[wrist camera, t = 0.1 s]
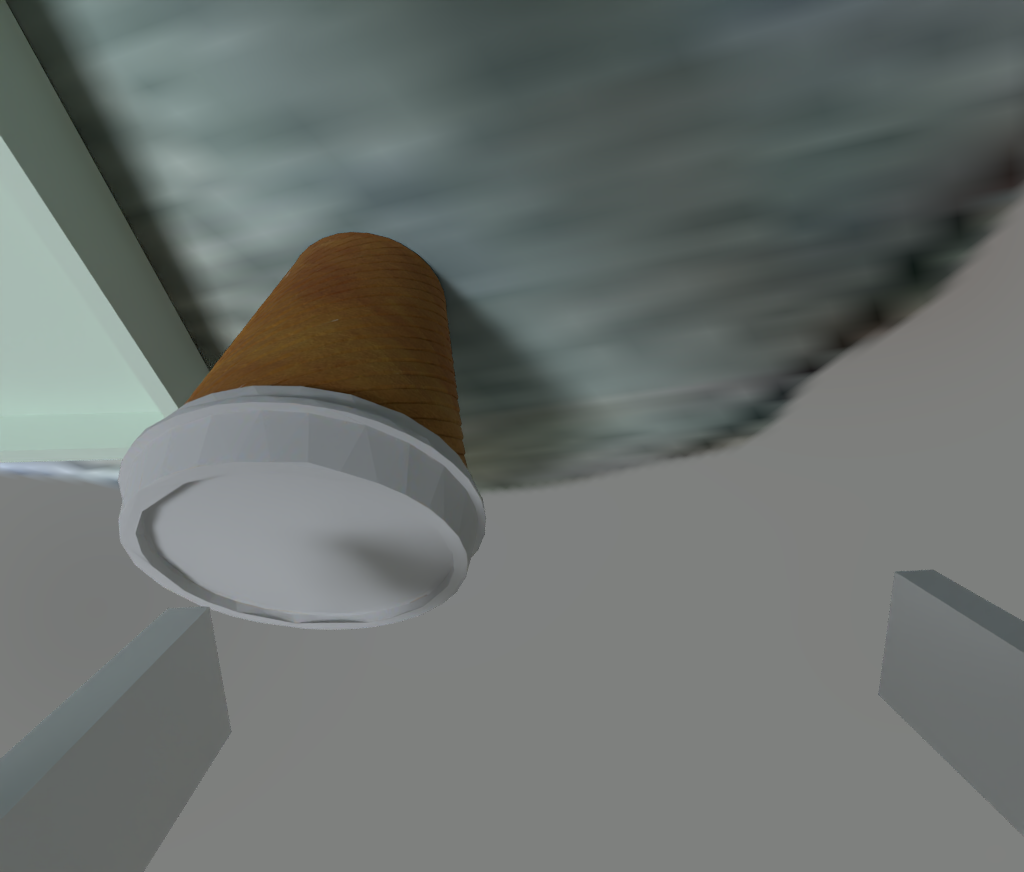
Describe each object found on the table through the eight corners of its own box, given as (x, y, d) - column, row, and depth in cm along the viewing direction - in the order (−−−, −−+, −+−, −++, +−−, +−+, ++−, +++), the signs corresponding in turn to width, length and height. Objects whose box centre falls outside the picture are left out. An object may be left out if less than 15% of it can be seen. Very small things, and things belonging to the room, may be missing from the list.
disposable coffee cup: (222, 333, 23) (81, 596, 15) (287, 129, 17) (114, 378, 9) (422, 414, 27) (397, 654, 19) (530, 270, 21) (558, 529, 13)
